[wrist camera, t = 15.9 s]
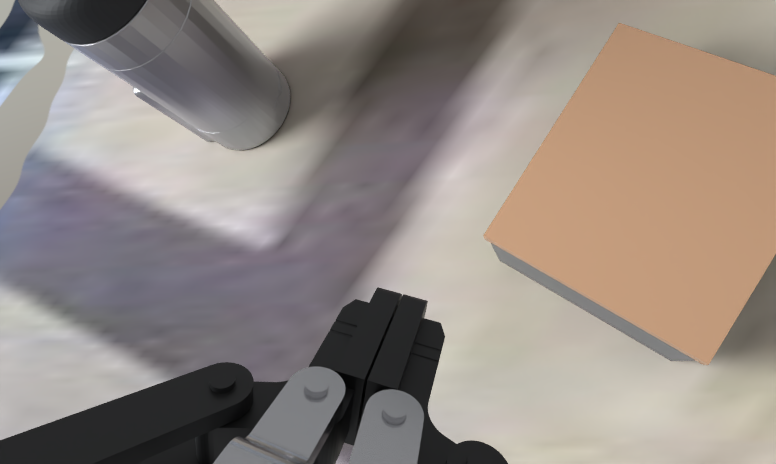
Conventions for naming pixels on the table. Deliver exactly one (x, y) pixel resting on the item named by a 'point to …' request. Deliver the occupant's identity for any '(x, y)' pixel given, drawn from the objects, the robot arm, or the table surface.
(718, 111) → the panel
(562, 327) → the table surface
